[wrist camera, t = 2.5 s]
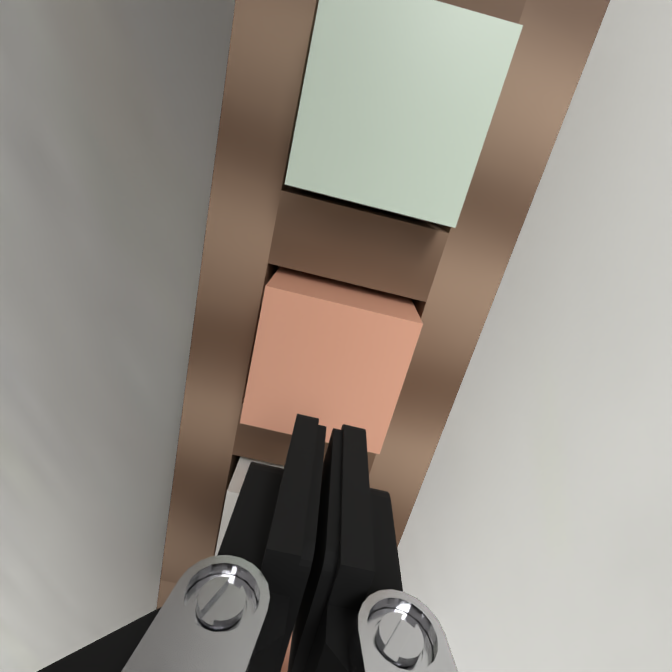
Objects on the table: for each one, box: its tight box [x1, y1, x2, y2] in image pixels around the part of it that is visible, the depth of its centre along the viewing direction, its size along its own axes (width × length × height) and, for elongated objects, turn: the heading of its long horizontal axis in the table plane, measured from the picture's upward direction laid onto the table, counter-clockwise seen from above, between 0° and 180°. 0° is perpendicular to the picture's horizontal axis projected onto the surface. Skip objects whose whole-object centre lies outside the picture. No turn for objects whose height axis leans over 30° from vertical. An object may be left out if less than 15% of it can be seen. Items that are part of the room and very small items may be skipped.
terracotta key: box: [240, 266, 423, 454], centre depth 16 cm, size 5×5×3 cm
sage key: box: [285, 0, 523, 228], centre depth 13 cm, size 5×5×3 cm
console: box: [156, 0, 610, 672], centre depth 18 cm, size 32×10×4 cm, turn 166°
